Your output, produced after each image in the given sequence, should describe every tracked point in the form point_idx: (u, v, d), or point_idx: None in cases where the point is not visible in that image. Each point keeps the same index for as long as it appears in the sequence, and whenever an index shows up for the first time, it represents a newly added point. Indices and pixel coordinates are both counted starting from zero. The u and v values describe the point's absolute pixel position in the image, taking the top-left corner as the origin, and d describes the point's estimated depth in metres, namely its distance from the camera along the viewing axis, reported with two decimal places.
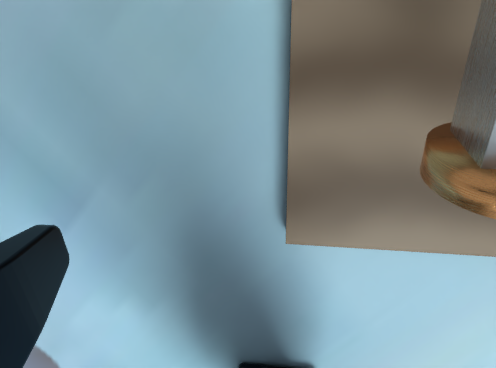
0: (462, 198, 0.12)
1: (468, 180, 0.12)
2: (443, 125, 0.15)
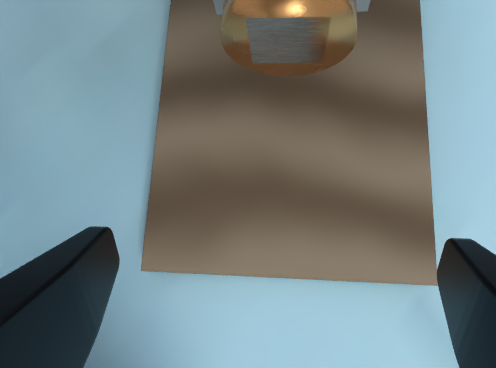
0: (233, 5, 0.14)
1: None
2: None
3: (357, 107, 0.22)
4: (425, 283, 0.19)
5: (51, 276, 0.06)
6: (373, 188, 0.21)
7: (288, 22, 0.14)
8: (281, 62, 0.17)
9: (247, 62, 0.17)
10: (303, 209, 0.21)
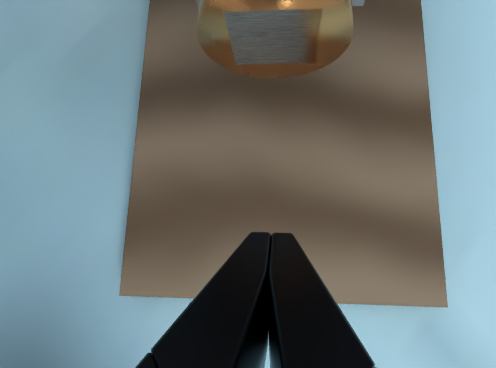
0: None
1: None
2: None
3: (354, 110, 0.20)
4: (434, 305, 0.17)
5: (255, 286, 0.06)
6: (374, 199, 0.19)
7: (273, 16, 0.12)
8: (268, 63, 0.15)
9: (230, 63, 0.15)
10: (297, 224, 0.19)
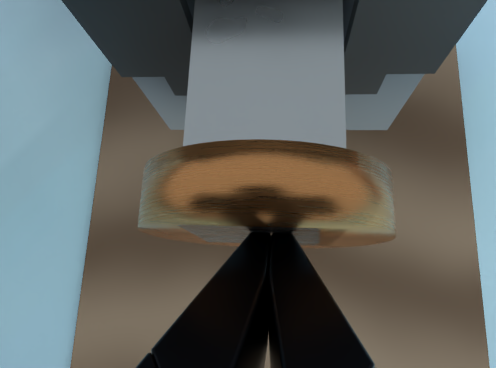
0: (151, 204, 0.07)
1: (155, 169, 0.07)
2: None
3: (377, 284, 0.14)
4: None
5: (255, 286, 0.06)
6: None
7: (262, 229, 0.07)
8: None
9: (199, 241, 0.10)
10: None
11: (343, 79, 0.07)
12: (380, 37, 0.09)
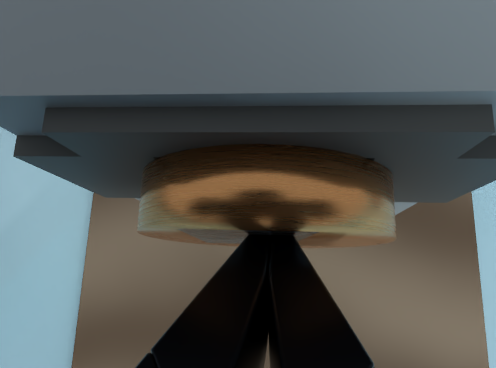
0: (150, 208, 0.07)
1: (154, 173, 0.07)
2: None
3: None
4: None
5: (255, 286, 0.06)
6: None
7: (262, 232, 0.07)
8: None
9: (198, 242, 0.10)
10: None
11: None
12: None
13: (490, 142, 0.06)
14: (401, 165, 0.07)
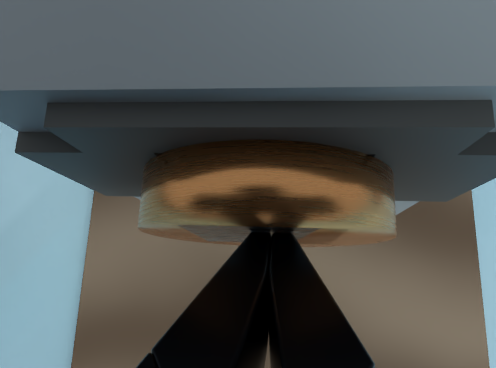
0: (151, 204, 0.07)
1: (155, 169, 0.07)
2: None
3: None
4: None
5: (255, 286, 0.06)
6: None
7: (262, 228, 0.07)
8: None
9: (199, 240, 0.10)
10: None
11: None
12: None
13: (490, 139, 0.06)
14: (401, 161, 0.07)
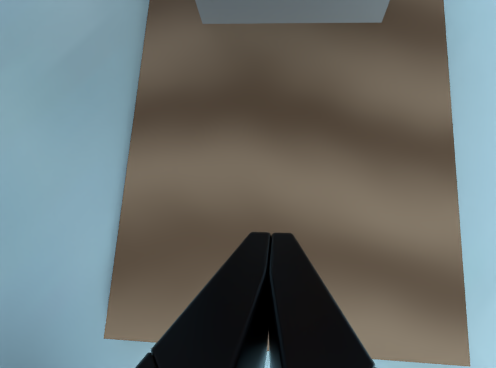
0: None
1: None
2: None
3: (370, 138, 0.18)
4: (454, 363, 0.15)
5: (255, 286, 0.06)
6: (390, 239, 0.17)
7: None
8: None
9: None
10: None
11: None
12: None
13: None
14: None
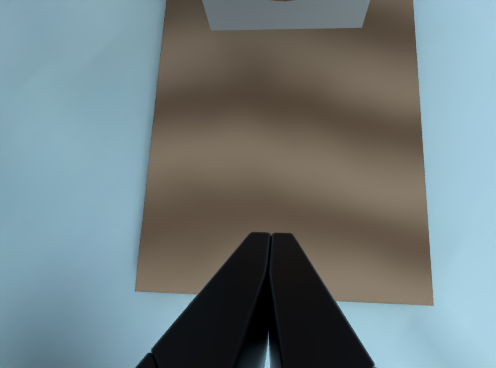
0: None
1: None
2: None
3: (352, 124, 0.22)
4: (421, 303, 0.19)
5: (255, 286, 0.06)
6: (369, 206, 0.20)
7: None
8: None
9: None
10: (298, 228, 0.21)
11: None
12: None
13: None
14: None
